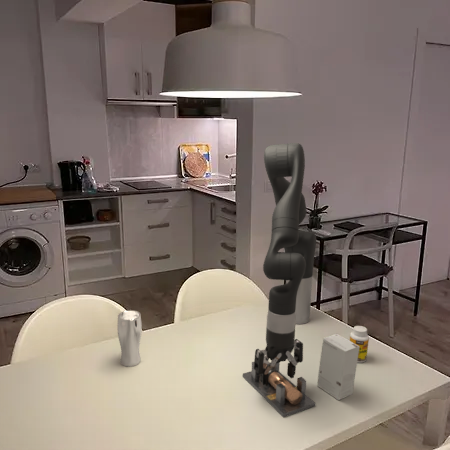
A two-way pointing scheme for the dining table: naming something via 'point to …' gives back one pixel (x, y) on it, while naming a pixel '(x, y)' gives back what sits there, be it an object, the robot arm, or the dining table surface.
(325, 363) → the skincare box
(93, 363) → the dining table surface
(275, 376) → the copper tube
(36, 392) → the dining table surface
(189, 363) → the dining table surface
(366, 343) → the supplement bottle
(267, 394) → the tube holder
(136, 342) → the white sculpted vase
